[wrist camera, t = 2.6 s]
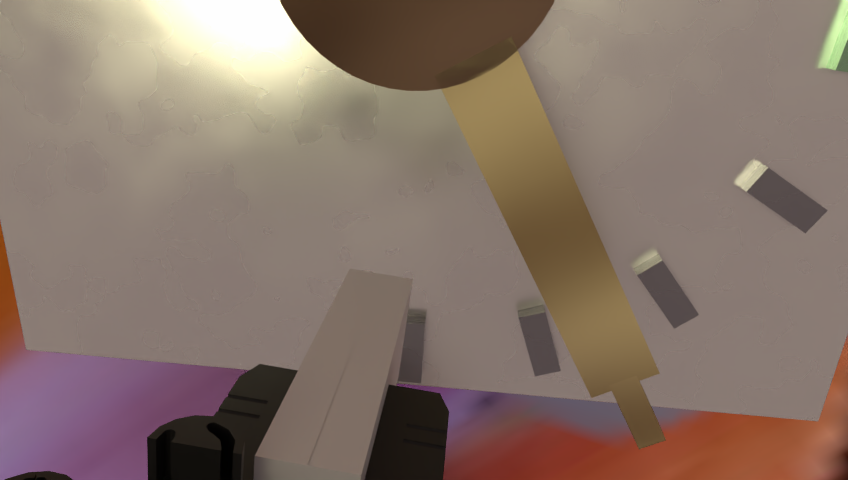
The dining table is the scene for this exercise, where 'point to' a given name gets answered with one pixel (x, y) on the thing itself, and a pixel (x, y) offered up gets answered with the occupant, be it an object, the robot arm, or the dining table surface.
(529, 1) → the dial
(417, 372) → the tuner plate
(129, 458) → the dining table surface
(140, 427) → the dining table surface
